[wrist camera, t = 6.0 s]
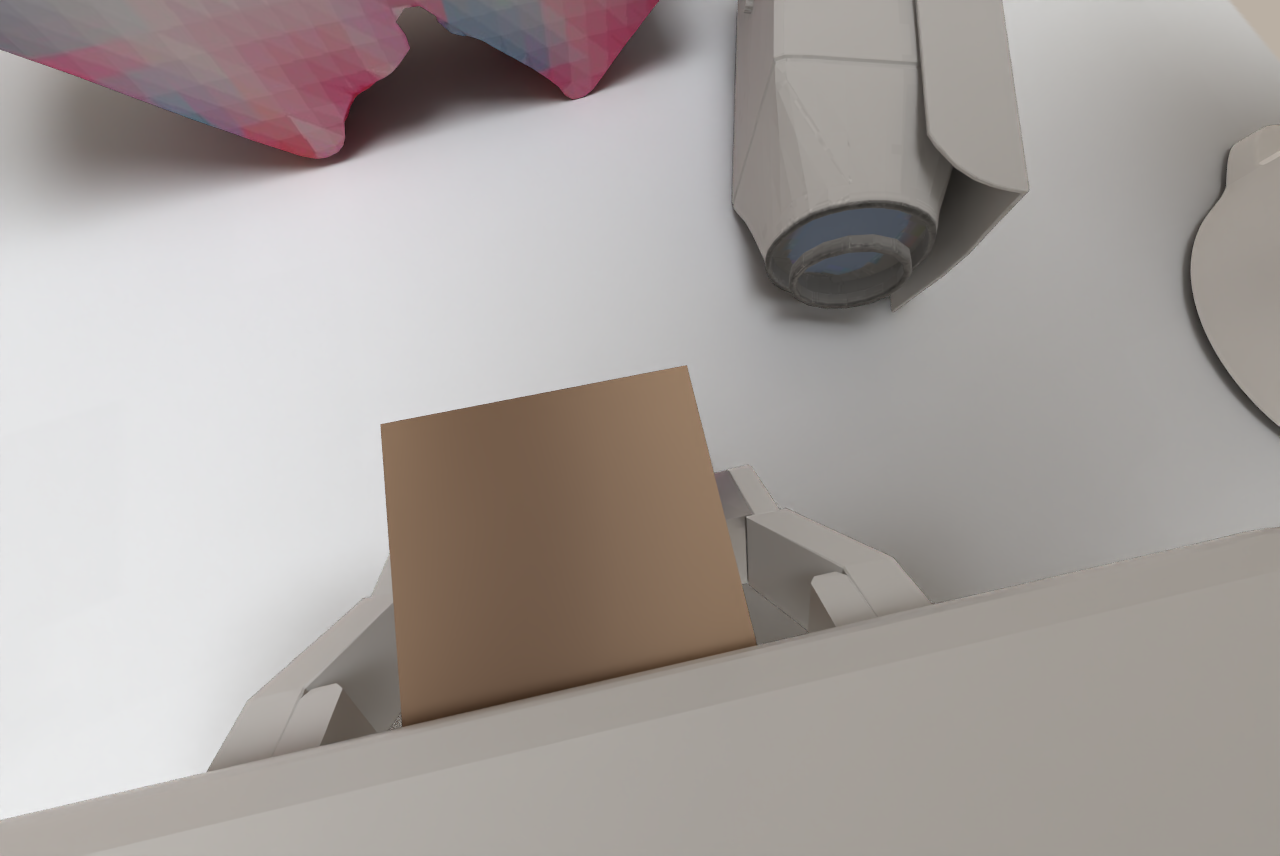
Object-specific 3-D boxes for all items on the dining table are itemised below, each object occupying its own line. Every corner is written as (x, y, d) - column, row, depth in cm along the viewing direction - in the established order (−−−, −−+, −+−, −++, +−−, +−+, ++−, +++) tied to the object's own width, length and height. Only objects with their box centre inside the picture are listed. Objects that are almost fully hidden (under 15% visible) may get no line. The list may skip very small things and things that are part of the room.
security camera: (878, 258, 12) (1323, 56, 14) (503, -296, 17) (861, -392, 19) (779, 374, 20) (1067, 237, 22) (545, -26, 25) (793, -110, 27)
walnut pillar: (658, 470, 16) (687, 365, 7) (690, 612, 15) (769, 694, 6) (523, 498, 16) (380, 424, 7) (544, 644, 14) (405, 781, 6)
